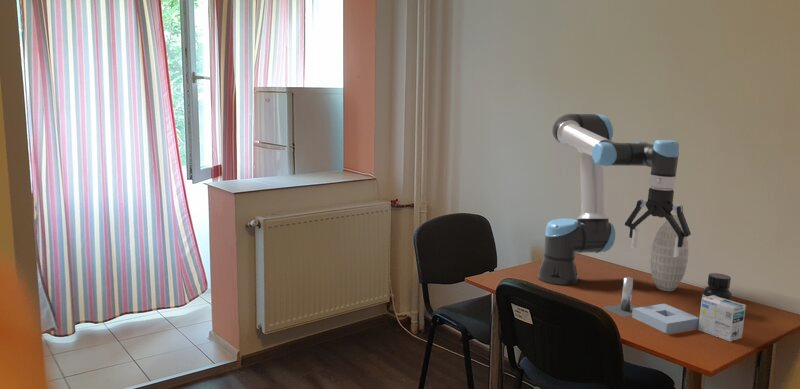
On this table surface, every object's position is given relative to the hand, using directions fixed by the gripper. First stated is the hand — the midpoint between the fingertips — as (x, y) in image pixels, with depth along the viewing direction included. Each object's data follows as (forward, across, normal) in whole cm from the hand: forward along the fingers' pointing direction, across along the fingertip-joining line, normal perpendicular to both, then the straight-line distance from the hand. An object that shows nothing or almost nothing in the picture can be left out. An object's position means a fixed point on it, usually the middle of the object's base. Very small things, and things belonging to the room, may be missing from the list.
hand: (654, 252), depth 203 cm
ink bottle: (+22, +16, +22) cm, 34 cm away
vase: (+22, -4, +32) cm, 39 cm away
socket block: (+21, +7, -5) cm, 23 cm away
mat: (+21, -6, -3) cm, 22 cm away
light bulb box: (+21, +23, -2) cm, 31 cm away
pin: (+21, -6, -3) cm, 22 cm away
